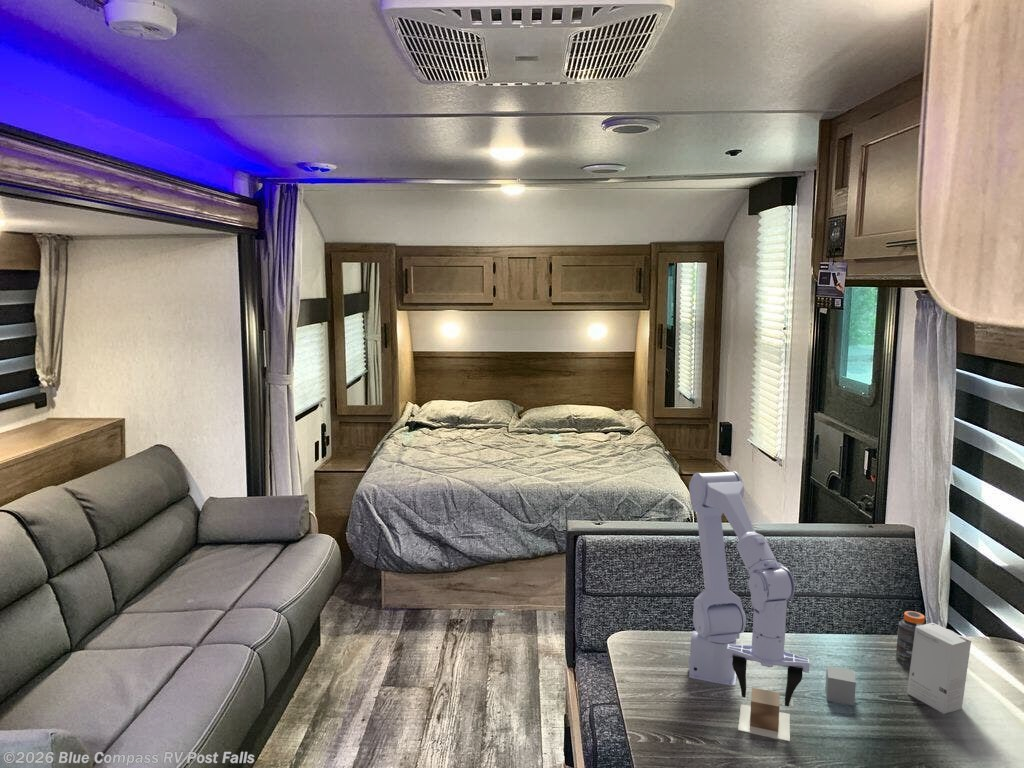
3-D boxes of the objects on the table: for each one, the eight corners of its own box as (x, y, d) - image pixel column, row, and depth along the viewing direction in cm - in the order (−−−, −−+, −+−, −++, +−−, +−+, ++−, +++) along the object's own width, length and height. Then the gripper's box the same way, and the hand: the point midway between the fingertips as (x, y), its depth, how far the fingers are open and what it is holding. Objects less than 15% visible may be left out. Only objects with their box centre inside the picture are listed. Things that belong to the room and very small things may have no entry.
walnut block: (749, 726, 130) (750, 701, 130) (750, 711, 135) (751, 687, 134) (778, 731, 128) (779, 706, 128) (778, 717, 133) (779, 692, 132)
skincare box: (906, 694, 142) (911, 625, 140) (925, 688, 144) (931, 620, 143) (946, 716, 134) (952, 644, 133) (966, 709, 137) (972, 638, 135)
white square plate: (737, 732, 129) (738, 729, 129) (740, 706, 137) (740, 704, 137) (789, 743, 126) (789, 740, 126) (789, 716, 134) (789, 714, 134)
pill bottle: (930, 670, 151) (934, 621, 150) (901, 667, 153) (904, 618, 151) (920, 657, 157) (923, 609, 156) (892, 654, 158) (895, 607, 157)
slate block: (826, 700, 139) (828, 677, 138) (825, 688, 144) (826, 665, 143) (854, 706, 137) (855, 682, 136) (852, 693, 142) (853, 670, 141)
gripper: (726, 633, 128) (723, 701, 130) (811, 648, 123) (807, 719, 125) (729, 617, 135) (726, 682, 137) (810, 630, 130) (806, 698, 131)
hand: (765, 699), depth 131 cm, fingers open, 7 cm apart
